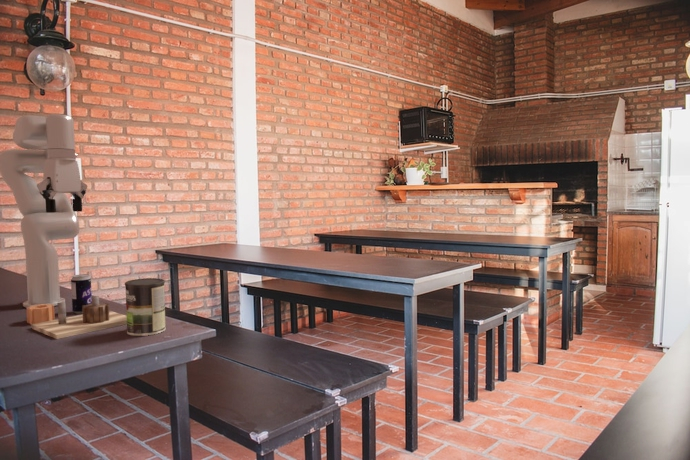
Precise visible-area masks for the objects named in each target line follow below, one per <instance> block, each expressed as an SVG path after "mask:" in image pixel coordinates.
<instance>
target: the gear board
mask: <svg viewBox="0 0 690 460" xmlns="http://www.w3.org/2000/svg"><path fill="white" fill-rule="evenodd" d="M91 300H92V304H88V305H83V306H82V312H83V314H77V315H74V316H68V317H67V306H66V301H65V302H59V303H58V305H57V319H55V320H52V321H47V322H41V323H36V324H30V325H31V328H32V330H34V331H36V332H39V333H40V334H41V333H42V334H43V335H47V336H48V337H51V338H53V339H55V340H60V339H64V338H68V337H69V338H70V337H73V336H79V335H82V334H87V333H91V332H96V331H102V330H106V329H110V328H115V327H119V326H125V325H127V315H126V314H122V313H119V312H115V311H113V310H110V305H109V303H108V302H106V303H104V302H103V303H102V302H100V295H92V297H91Z"/></svg>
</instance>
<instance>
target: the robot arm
mask: <svg viewBox="0 0 690 460" xmlns="http://www.w3.org/2000/svg"><path fill="white" fill-rule="evenodd" d="M14 123H15V124H14V131H13V132H12V140H13V142H14V143H15V144H16V145H17V146H18V147H20V148H11V149H5V150H3V151H2V152H0V176H1V177H2V180H3V181H4V183H5V184H6V185H7V186H8V188H10V190H11V192H12V194H13V197H14V200H15V203H16V206H17V208H18V210H19V212H20V214H21V215H22V216H23V217H22V218H21V220H20V231H21V234H22V239H23V244H24V251H25V254H24V255H25V266H26V267H25V269H26V283H27V287H26V288H27V300H26V301H24V302H22V307H24V308H26V309H27V308H28V307H30V306H35V305H39V304H52V305H54V307H56V306H57V307H58V303H59V302H66V298H64V297H61V293H60V290H61V288H60V273H59V272H60V271H59V254H58V250H56V249H57V248H55V247H54V246H53V245H52V244H51V243H50V242H51V241H58V240H69V239H74V238H76V237H77V236H78V235H79V233H80V230H81V229H80V228H81V227H80V221H79V219H78V216H77V214H76V212H83V201H82V200H83V199H84V196H85V195H86V191H87V189H88V184H86V183H85V182H83V181H82V180H81V174H80V168H79V164H78V161H77V160H76V158H78V154H77V153H76V140H75V138H76V137H75V121H74V118H73V117H72V116H70V115H69V114H64V113H63V114H59V113H52V114H48V115H46V116H41V115H29V114H28V115H27V114H25V115H22V116H19V117H17V119H16V120H15V122H14ZM28 174H42V175H43V177H42V180H41V181H40V182H37V180H36V179H34V178H33V177H31V176H29V175H28ZM68 193H70V195H71V196H72V197H73V198H72V202H71V199H70V198H69V196H68V195H67V194H68ZM49 241H50V242H49Z"/></svg>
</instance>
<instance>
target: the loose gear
mask: <svg viewBox="0 0 690 460" xmlns="http://www.w3.org/2000/svg"><path fill="white" fill-rule="evenodd" d="M55 315H56V314H55V306H54V305H52V304H39V305H35V306H30V307H28V308H26V323H27V324H29V325H31V324H36V323H41V322H47V321H52V320H56V317H55Z"/></svg>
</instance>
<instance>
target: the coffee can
mask: <svg viewBox="0 0 690 460" xmlns="http://www.w3.org/2000/svg"><path fill="white" fill-rule="evenodd" d="M124 286H125V309H126V311H125V312H126V314H125V315H126V316H127V324H126V334H127V335H129V336H131V337H132V336H133V337H148V335H149V336H153V335H154V334H155V335H159V334H161V332H162V333H163V331H164V332H165V331H166V328H167V327H166V307H165V306H166V305H165V301H166V300H165V298H166V297H165V295H166V294H165V279H163V278H157V277H155V278H154V277H153V278H152V277H148V278H146V277H145V278H135V279H131V280H128V281H125V282H124ZM158 333H159V334H158Z"/></svg>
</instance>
